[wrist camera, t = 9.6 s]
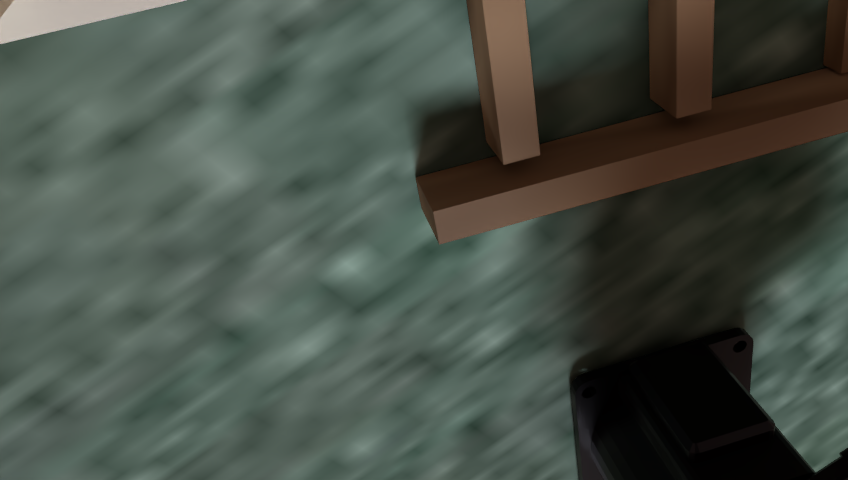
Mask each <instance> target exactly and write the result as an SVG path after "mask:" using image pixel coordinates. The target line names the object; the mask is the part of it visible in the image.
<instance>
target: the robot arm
mask: <svg viewBox="0 0 848 480" xmlns="http://www.w3.org/2000/svg"><path fill="white" fill-rule="evenodd" d="M752 354H753V339H752V337H751V336H750V335H749V334H748V333H747V332H746V331H745V330H744V329H742V328H734V329H731V330H727V331H724V332H721V333H717V334H714V335H711V336H707V337H704V338H701V339H697V340H694V341H691V342H687V343H684V344H681V345H677V346H674V347H671V348H668V349H664V350H661V351H658V352H654V353H651V354H648V355H644V356H641V357H638V358H634V359H631V360H628V361H624V362H621V363H618V364H614V365H611V366H608V367H604V368H601V369H598V370H594V371H591V372H588V373H584V374H582V375H580V376H578V377H577V378H576V379H574V381H573V382H572V384H571V398H572V409H573V419H574V430H575V441H576V451H577V462H578V472H579V480H848V448H846V449H845V450H843V451H842V452H840V453H839V454H840V456H841V457H839V458H838V459H836V460H834V461H833V462H831V463H830V464H828V465H827V466H825V467H824V468H822V469H821V470H819V471H818V472H815V471H814V470H813V469H812V468H811V467H810V466H809V464H808V463H807V462H806V461H805V460H804V459H803V457H802V456H801V455H800V454H799V453H798V452H797V450H796V449H795V448H794V447H793V446H792V445H791V443H790V442H789V441H788V440H787V439H786V438H785V436H784V435H783V434H782V433H781V432H780V431H779V429H778V428H777V427H776V426H775V423H774V421H773V420H772V419H771V418H770V416H769V415H768V414H767V413H766V412H765V411H764V409H763V408H762V407H761V406H760V405H759V404H758V402H757V401H756V400H755V399H754V398H753V397H752V395H751V394H750V382H751V368H752ZM587 387H589V388H588V389H586V390H584V389H585V388H587Z"/></svg>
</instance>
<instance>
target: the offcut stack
mask: <svg viewBox="0 0 848 480" xmlns="http://www.w3.org/2000/svg"><path fill="white" fill-rule="evenodd" d="M823 65H825V66H827V67H829V68H831V69H833V70H835V71H837V72H839V73H841V74H842V73H845V72H848V0H829V1H828V13H827V24H826V36H825V48H824V60H823Z"/></svg>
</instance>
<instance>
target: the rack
mask: <svg viewBox="0 0 848 480" xmlns="http://www.w3.org/2000/svg"><path fill="white" fill-rule="evenodd" d="M714 3H715V0H648V9H649V70H650V99H651V100H653V101H654V102H655V103H657V104H658V105H659V106H661V107H662V108H663V109H664V110H666V111H663V112H659V113H655V114H651V115H648V116H644V117H640V118H636V119H633V120H629V121H625V122H621V123H618V124H614V125H610V126H606V127H603V128H599V129H595V130H591V131H588V132H584V133H580V134H576V135H573V136H569V137H565V138H561V139H558V140H554V141H550V142H546V143H543V144H539V137H538V127H537V117H536V107H535V97H534V87H533V77H532V67H531V57H530V47H529V37H528V28H527V18H526V8H525V0H467V7H468V15H469V22H470V29H471V36H472V43H473V50H474V57H475V64H476V72H477V79H478V86H479V93H480V100H481V107H482V114H483V121H484V128H485V136H486V142H487V143H488V145H489V146H490V147H491V149H492V150H493V151H494V153H495V154H496V155H497V156H494V157H490V158H486V159H483V160H479V161H475V162H471V163H468V164H464V165H460V166H456V167H453V168H449V169H445V170H441V171H438V172H434V173H430V174H426V175H423V176H419V177H416V182H417V187H418V192H419V197H420V202H421V207H422V210H423V212H424V214H425V216H426V218H427V220H428V222H429V224H430V226H431V228H432V230H433V232H434V234H435V237H436V239H437V241H438V243H439V244H443V243H446V242H450V241H454V240H457V239H461V238H465V237H468V236H472V235H475V234H479V233H483V232H486V231H490V230H493V229H497V228H501V227H504V226H508V225H511V224H515V223H519V222H522V221H526V220H530V219H533V218H537V217H540V216H544V215H548V214H551V213H555V212H558V211H562V210H566V209H569V208H573V207H576V206H580V205H584V204H587V203H591V202H595V201H598V200H602V199H605V198H609V197H613V196H616V195H620V194H623V193H627V192H631V191H634V190H638V189H641V188H645V187H649V186H652V185H656V184H660V183H663V182H667V181H670V180H674V179H678V178H681V177H685V176H688V175H692V174H696V173H699V172H703V171H707V170H710V169H714V168H717V167H721V166H725V165H728V164H732V163H735V162H739V161H743V160H746V159H750V158H753V157H757V156H761V155H764V154H768V153H772V152H775V151H779V150H782V149H786V148H790V147H793V146H797V145H800V144H804V143H808V142H811V141H815V140H818V139H822V138H826V137H829V136H833V135H837V134H840V133H844V132H847V131H848V72H845V73H842V74H841V73H839V72H837V71H835V70H833V69H831V68H829V67H828V68H824V69H820V70H816V71H813V72H809V73H805V74H801V75H798V76H794V77H790V78H786V79H783V80H779V81H775V82H771V83H768V84H764V85H760V86H756V87H753V88H749V89H745V90H741V91H738V92H734V93H730V94H726V95H723V96H719V97H715V98H712V73H713V38H714Z"/></svg>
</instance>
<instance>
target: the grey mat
mask: <svg viewBox="0 0 848 480" xmlns="http://www.w3.org/2000/svg"><path fill="white" fill-rule="evenodd" d="M181 1H186V0H14V1H13V2H12V3H11V5H10V6H9V7H8V9H7V10H6V11H5V13H4V14H3V15H2V16H1V18H0V44H2V43H7V42H11V41H15V40H19V39H24V38H28V37H32V36H37V35H41V34H45V33H49V32H54V31H58V30H62V29H66V28H71V27H75V26H79V25H83V24H88V23H92V22H96V21H100V20H105V19H109V18H113V17H118V16H122V15H126V14H130V13H135V12H139V11H143V10H147V9H152V8H156V7H160V6H164V5H169V4H173V3H177V2H181Z"/></svg>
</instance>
